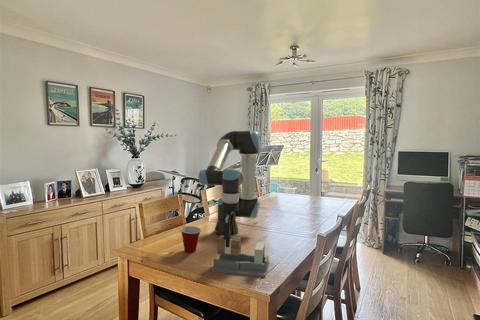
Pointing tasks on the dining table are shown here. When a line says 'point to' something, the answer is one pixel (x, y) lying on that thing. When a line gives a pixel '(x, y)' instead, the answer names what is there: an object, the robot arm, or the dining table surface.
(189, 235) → the plastic cup
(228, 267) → the grey grooved base
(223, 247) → the brown rectangular block
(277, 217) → the dining table surface
